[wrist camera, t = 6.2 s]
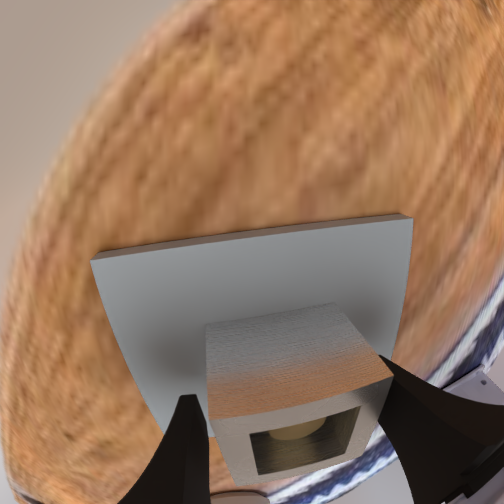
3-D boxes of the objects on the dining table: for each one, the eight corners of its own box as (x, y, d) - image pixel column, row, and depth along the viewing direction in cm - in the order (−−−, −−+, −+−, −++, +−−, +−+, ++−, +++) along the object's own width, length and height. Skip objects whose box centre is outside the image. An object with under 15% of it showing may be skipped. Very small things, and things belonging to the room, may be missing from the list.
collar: (333, 301, 12) (394, 375, 7) (326, 386, 13) (361, 455, 9) (205, 323, 11) (208, 420, 6) (225, 406, 13) (236, 486, 8)
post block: (400, 213, 12) (477, 243, 7) (373, 387, 16) (406, 438, 11) (98, 252, 10) (40, 310, 6) (167, 427, 14) (164, 491, 10)
